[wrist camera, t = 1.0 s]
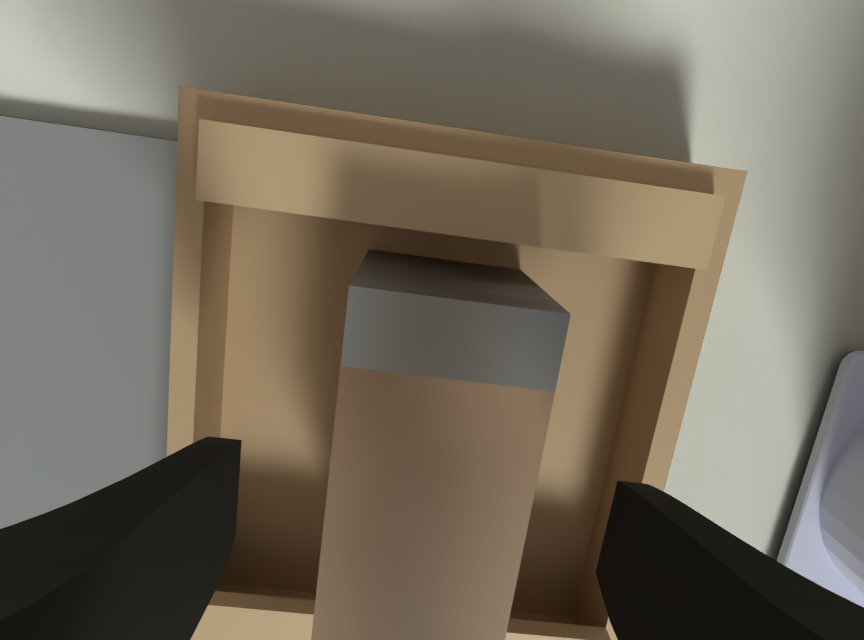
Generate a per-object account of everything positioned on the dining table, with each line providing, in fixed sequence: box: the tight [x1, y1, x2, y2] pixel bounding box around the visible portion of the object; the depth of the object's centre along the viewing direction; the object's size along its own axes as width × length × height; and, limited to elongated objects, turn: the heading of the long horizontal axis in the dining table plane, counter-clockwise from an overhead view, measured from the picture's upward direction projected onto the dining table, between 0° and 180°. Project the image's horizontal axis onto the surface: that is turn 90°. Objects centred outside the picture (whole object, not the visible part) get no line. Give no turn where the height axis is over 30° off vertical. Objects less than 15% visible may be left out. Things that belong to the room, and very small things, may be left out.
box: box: [311, 249, 571, 640], centre depth 14 cm, size 4×8×5 cm, turn 172°
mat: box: [0, 116, 177, 529], centre depth 16 cm, size 7×12×1 cm, turn 172°
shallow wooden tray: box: [167, 86, 747, 640], centre depth 15 cm, size 12×14×3 cm
